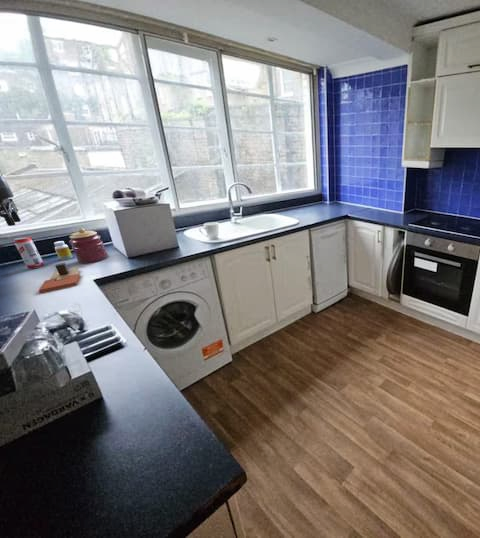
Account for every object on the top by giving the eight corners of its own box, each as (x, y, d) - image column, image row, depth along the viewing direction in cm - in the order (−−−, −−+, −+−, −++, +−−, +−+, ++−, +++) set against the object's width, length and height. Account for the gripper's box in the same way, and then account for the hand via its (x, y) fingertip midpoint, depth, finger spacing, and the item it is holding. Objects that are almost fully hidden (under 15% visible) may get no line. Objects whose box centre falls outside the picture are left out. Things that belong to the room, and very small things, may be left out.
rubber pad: (40, 293, 126) (38, 290, 125) (46, 283, 135) (44, 280, 134) (76, 285, 132) (75, 282, 132) (80, 276, 141) (79, 273, 141)
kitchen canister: (92, 264, 156) (78, 232, 149) (71, 263, 158) (57, 231, 151) (114, 255, 168) (102, 225, 161) (95, 254, 170) (82, 225, 163)
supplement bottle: (74, 257, 167) (67, 241, 163) (62, 260, 163) (54, 244, 159) (70, 256, 169) (63, 240, 165) (58, 259, 165) (50, 242, 161)
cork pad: (49, 284, 133) (43, 271, 131) (55, 276, 143) (48, 263, 140) (75, 279, 138) (69, 266, 136) (79, 271, 148) (73, 259, 145)
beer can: (32, 269, 151) (16, 240, 145) (25, 268, 153) (9, 239, 147) (47, 265, 157) (33, 236, 150) (40, 264, 159) (26, 235, 152)
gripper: (-11, 186, 130) (8, 222, 137) (-24, 189, 120) (-3, 228, 126) (13, 184, 134) (30, 219, 141) (3, 187, 124) (22, 225, 130)
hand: (14, 223), depth 134 cm, fingers open, 8 cm apart
